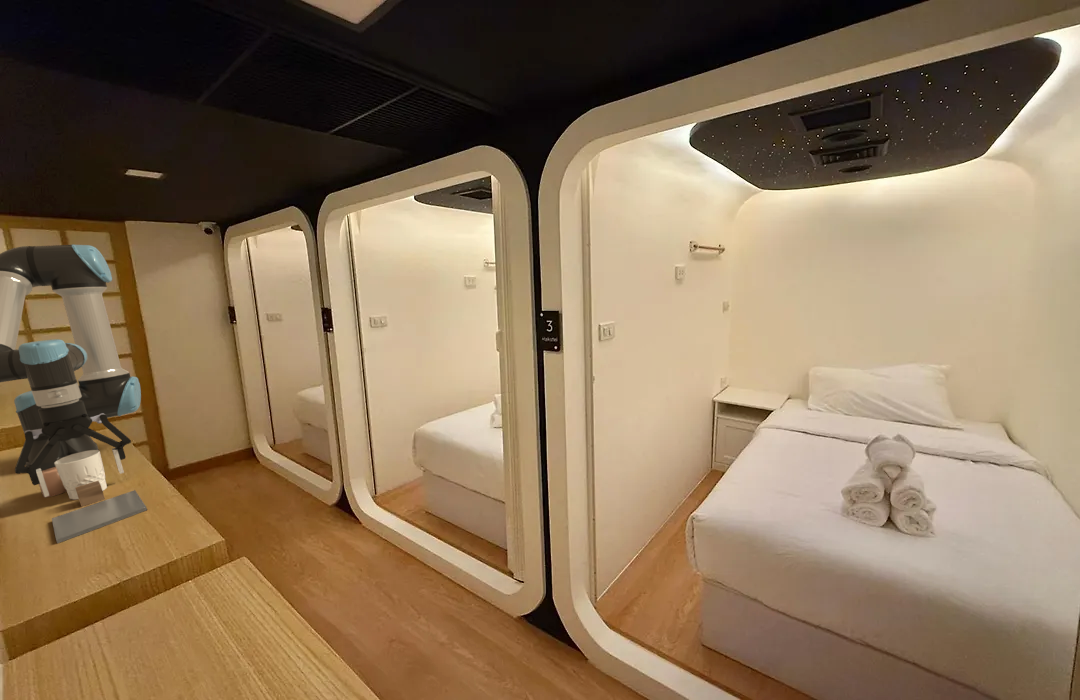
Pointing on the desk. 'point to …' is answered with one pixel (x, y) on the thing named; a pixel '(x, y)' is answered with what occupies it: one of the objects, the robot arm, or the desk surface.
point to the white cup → (81, 471)
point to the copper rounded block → (52, 482)
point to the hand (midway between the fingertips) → (85, 483)
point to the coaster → (97, 515)
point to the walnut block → (90, 493)
